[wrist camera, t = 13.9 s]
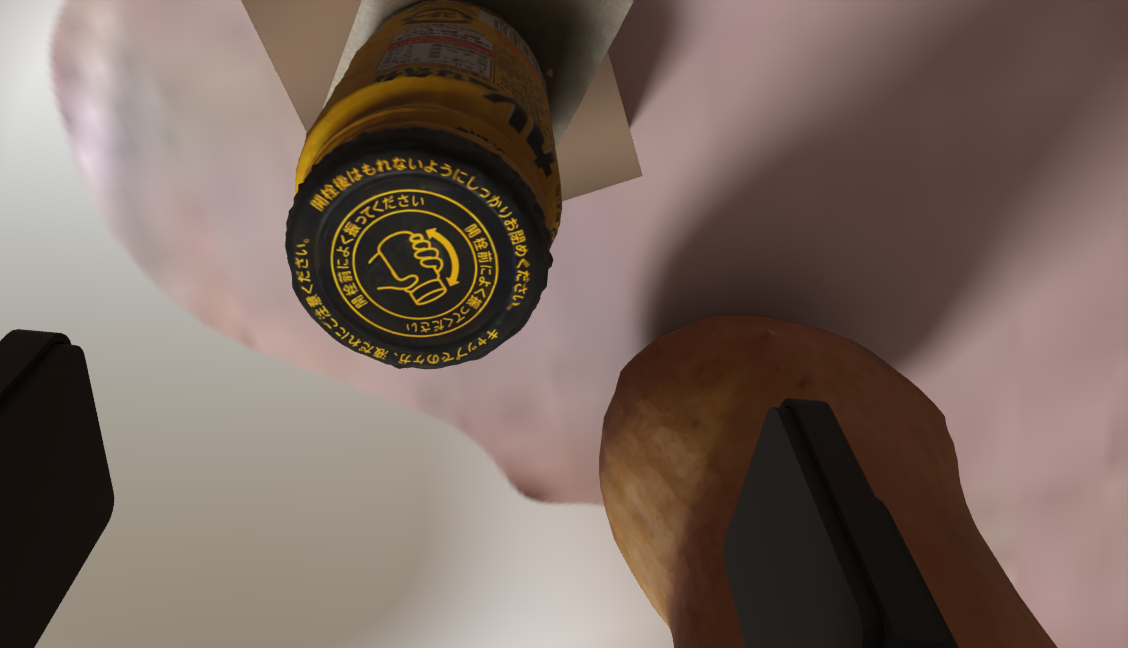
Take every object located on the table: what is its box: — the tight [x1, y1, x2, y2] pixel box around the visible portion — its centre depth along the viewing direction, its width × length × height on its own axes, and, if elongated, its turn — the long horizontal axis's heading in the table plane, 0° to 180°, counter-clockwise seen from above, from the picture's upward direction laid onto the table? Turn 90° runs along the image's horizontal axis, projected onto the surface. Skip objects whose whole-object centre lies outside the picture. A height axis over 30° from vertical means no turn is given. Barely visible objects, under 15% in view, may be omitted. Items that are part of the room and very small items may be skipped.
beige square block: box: [241, 0, 642, 201], centre depth 28 cm, size 10×10×5 cm
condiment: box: [285, 0, 633, 369], centre depth 21 cm, size 7×8×12 cm
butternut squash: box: [599, 315, 1057, 648], centre depth 28 cm, size 14×13×25 cm
